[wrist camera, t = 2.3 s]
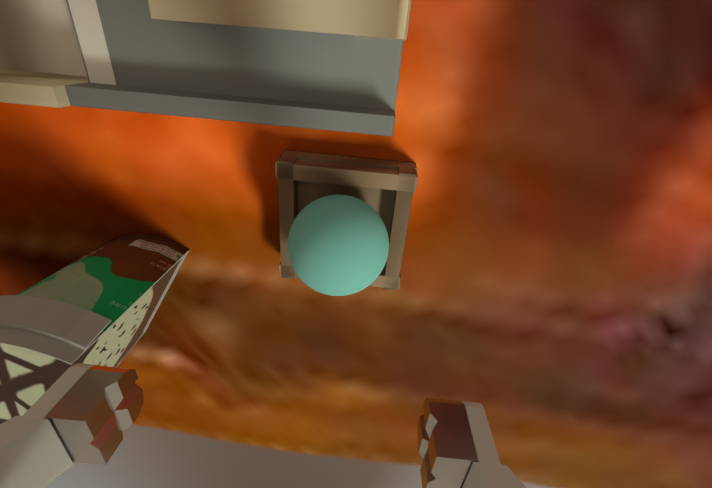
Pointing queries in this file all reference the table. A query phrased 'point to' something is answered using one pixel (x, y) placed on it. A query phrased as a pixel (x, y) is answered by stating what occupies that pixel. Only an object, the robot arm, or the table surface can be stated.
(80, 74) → the tray
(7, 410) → the food container
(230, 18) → the ramp
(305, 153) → the brown square wooden tray
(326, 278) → the ball
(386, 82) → the grey railed platform
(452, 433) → the robot arm
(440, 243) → the table surface
